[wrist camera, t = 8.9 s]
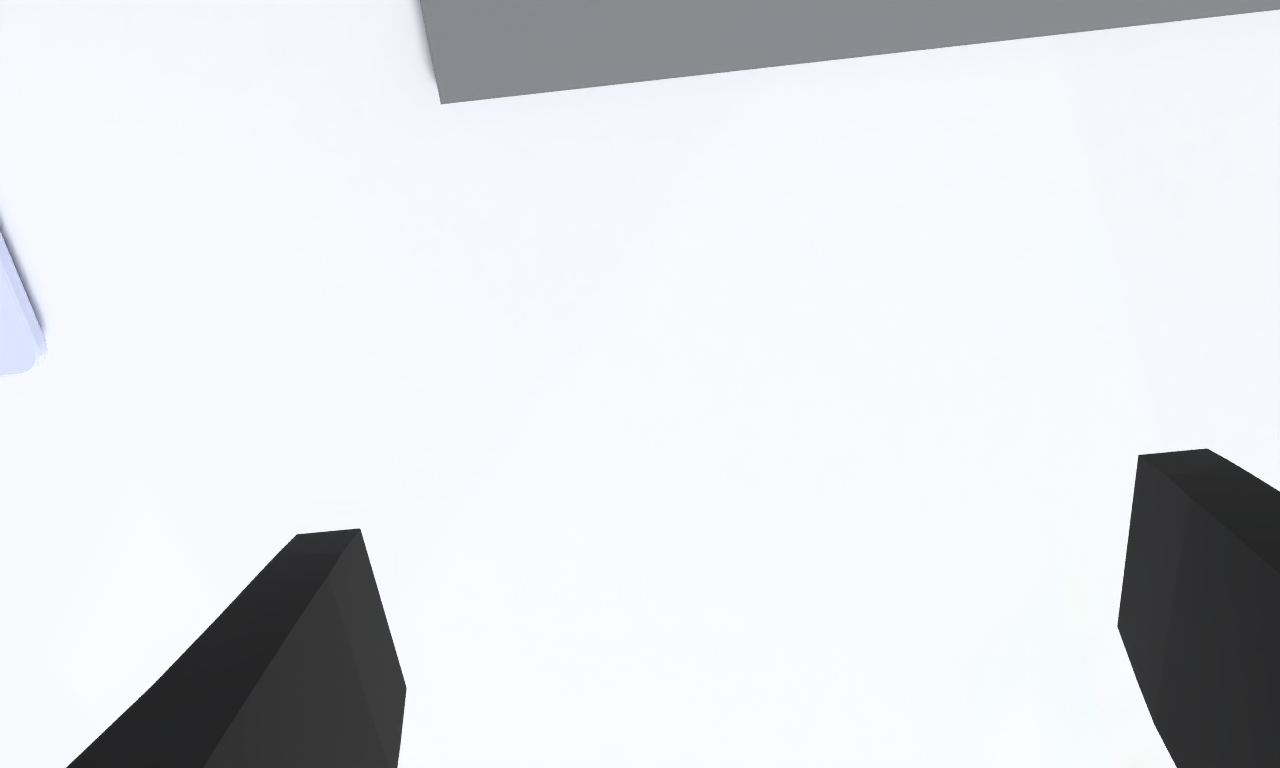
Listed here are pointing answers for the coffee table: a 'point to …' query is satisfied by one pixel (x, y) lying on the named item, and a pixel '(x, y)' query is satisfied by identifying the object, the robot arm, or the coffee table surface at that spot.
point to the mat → (736, 34)
